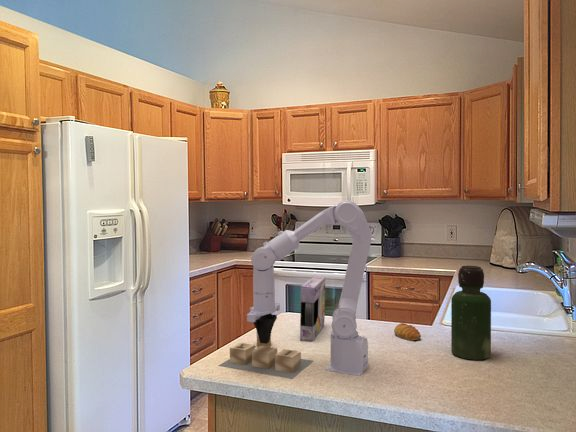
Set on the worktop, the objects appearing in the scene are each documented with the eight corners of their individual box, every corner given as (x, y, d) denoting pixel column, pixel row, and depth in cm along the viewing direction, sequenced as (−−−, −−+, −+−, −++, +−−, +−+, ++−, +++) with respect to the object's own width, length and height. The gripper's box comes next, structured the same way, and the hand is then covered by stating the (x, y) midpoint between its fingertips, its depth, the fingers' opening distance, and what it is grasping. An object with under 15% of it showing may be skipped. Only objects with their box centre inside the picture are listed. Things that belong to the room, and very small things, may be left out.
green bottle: (496, 354, 132) (496, 266, 131) (482, 363, 124) (482, 270, 123) (460, 346, 139) (460, 263, 138) (445, 355, 131) (445, 267, 130)
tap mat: (314, 362, 127) (314, 360, 127) (292, 380, 114) (292, 378, 114) (245, 351, 136) (245, 350, 136) (217, 367, 124) (217, 365, 124)
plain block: (277, 362, 125) (277, 348, 125) (268, 368, 121) (268, 353, 121) (261, 360, 128) (261, 345, 128) (252, 366, 123) (251, 351, 123)
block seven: (255, 359, 129) (254, 344, 128) (245, 364, 124) (245, 349, 124) (239, 356, 131) (239, 342, 131) (229, 362, 126) (229, 347, 126)
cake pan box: (313, 342, 144) (313, 286, 143) (298, 341, 145) (297, 285, 145) (326, 326, 162) (325, 276, 162) (312, 325, 164) (311, 275, 163)
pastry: (426, 340, 146) (426, 328, 145) (408, 343, 143) (408, 331, 143) (409, 332, 154) (409, 321, 154) (391, 335, 152) (391, 323, 152)
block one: (301, 366, 122) (300, 351, 122) (292, 373, 118) (292, 357, 118) (284, 363, 125) (283, 348, 124) (275, 370, 120) (275, 354, 120)
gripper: (264, 286, 132) (264, 333, 132) (236, 296, 119) (237, 348, 119) (286, 288, 129) (286, 336, 129) (260, 298, 116) (261, 352, 116)
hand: (264, 342), depth 124 cm, fingers closed
